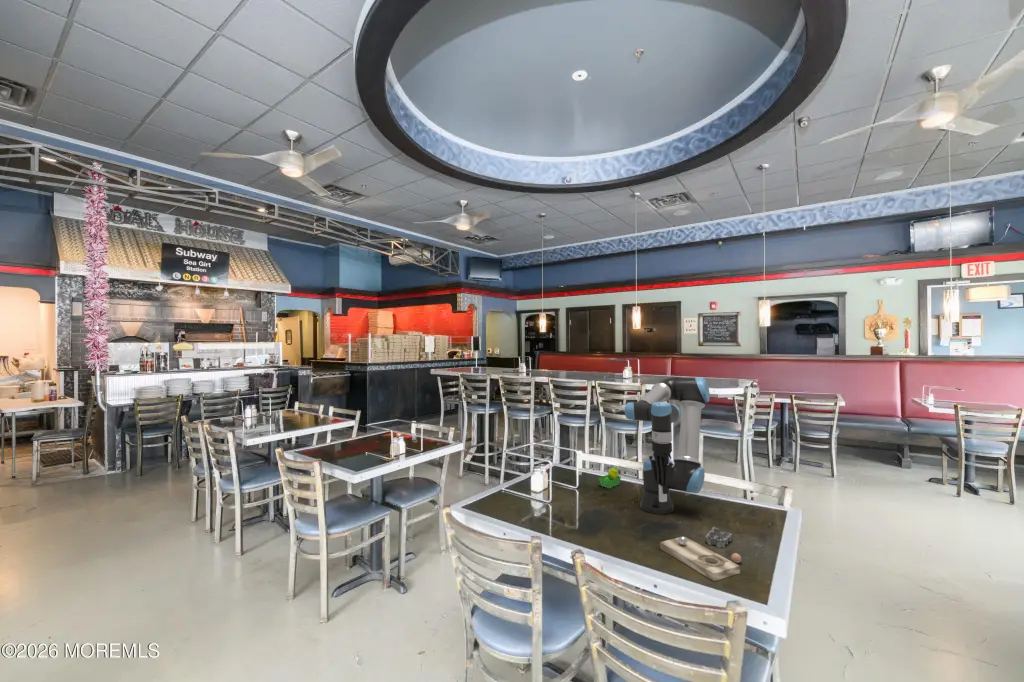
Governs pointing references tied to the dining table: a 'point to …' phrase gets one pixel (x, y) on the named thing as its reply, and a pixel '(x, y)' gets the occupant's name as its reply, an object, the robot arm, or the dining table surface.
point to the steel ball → (682, 540)
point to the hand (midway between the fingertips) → (663, 501)
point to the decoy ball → (736, 558)
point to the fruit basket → (610, 478)
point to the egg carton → (718, 537)
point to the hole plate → (701, 559)
